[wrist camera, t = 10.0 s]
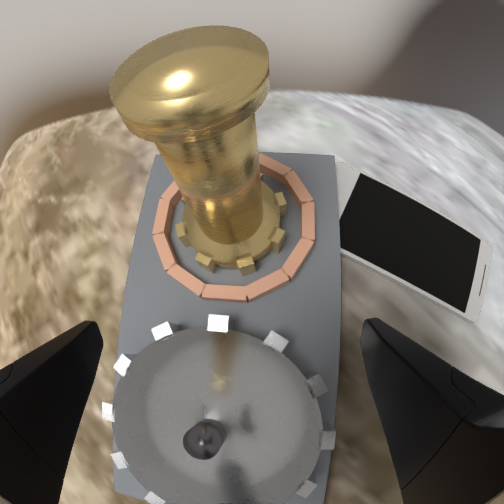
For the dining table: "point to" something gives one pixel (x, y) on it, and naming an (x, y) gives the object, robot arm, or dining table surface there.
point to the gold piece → (207, 138)
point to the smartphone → (411, 243)
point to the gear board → (245, 283)
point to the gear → (217, 417)
